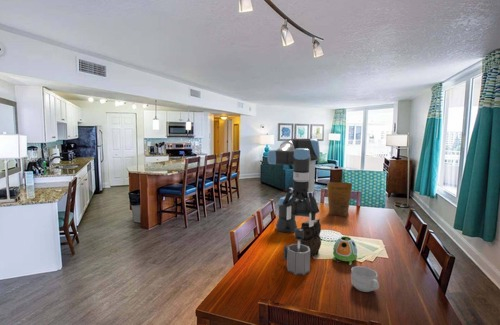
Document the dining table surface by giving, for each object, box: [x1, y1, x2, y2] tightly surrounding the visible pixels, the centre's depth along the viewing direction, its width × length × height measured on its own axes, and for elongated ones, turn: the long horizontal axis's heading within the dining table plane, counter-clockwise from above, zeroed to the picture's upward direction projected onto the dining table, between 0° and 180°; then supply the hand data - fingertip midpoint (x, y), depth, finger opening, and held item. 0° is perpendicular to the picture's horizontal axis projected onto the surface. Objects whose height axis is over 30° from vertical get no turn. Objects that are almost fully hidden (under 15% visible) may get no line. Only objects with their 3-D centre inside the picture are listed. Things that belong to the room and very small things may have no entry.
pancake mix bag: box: [326, 181, 353, 217], centre depth 226 cm, size 7×19×28 cm, turn 63°
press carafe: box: [283, 243, 311, 276], centre depth 138 cm, size 14×11×11 cm
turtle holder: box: [332, 235, 358, 266], centre depth 150 cm, size 12×18×12 cm
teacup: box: [350, 265, 380, 293], centre depth 120 cm, size 14×11×8 cm
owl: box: [300, 218, 322, 258], centre depth 154 cm, size 13×13×20 cm
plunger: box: [294, 227, 304, 252], centre depth 137 cm, size 8×8×19 cm
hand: (299, 222), depth 135 cm, fingers open, 13 cm apart
